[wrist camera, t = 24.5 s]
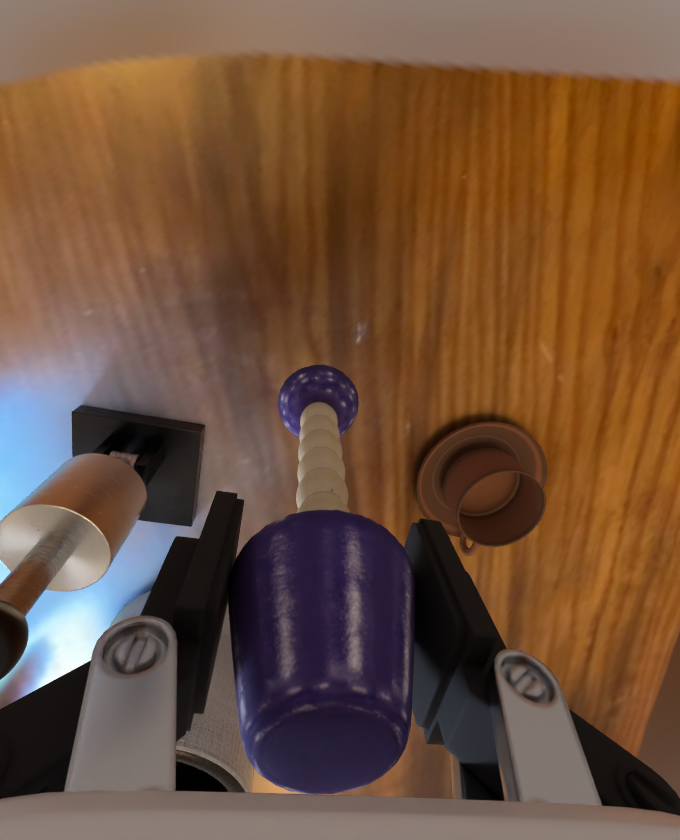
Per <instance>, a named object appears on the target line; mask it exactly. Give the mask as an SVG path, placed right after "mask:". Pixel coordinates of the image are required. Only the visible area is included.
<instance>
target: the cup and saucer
mask: <svg viewBox="0 0 680 840" xmlns="http://www.w3.org/2000/svg"><path fill="white" fill-rule="evenodd" d="M546 474H547V466H546V460H545V456H544V453H543V451H542V449H541V447H540V445H539V444H538V442H537V441H536V440H535V439H534V438H533V437H532V436H531V435H530V434H529V433H527V432H526V431H524V430H522V429H520V428H518V427H516V426H513V425H511V424H507V423H503V422H494V421H486V422H477V423H473V424H469V425H466V426H463V427H461V428H459V429H457V430H455V431H453V432H451V433H449V434H448V435H446V436H445V437H444V438H442V439H441V440H440V441H439V442H438V443H437V444H436V445H435V446H434V447H433V448H432V449H431V450H430V452H429V453H428V454H427V456H426V457H425V459H424V461H423V463H422V465H421V467H420V470H419V473H418V477H417V484H416V492H417V500H418V503H419V507H420V509H421V511H422V513H423V515H424V516H425V517H426V519H429V520H436V521H440V522H441V523H442V525H443V527H444V529H445V531H446V533H447V534H449V535H453V536H457V537H460V546H461V550H462V552H463V553H464V554H465V555H467V556H471V555H473V554H474V553H475V552H476V551H477V549H478V547H479V545H482V546H488V547H499V546H505V545H509V544H512V543H514V542H516V541H518V540H520V539H522V538H524V537H525V536H526V535H528V534H529V533H530V532H531V531H532V530H533V529H534V528H535V527H536V526H537V525H538V523H539V522H540V520H541V518H542V516H543V514H544V511H545V506H546V497H545V492H544V490H543V488H544V485H545V481H546ZM466 538H468V539H469V540H471V541H472V542H473V544H472V546H471V547H470V548H468V547H467V545H466Z"/></svg>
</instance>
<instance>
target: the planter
mask: <svg viewBox="0 0 680 840" xmlns="http://www.w3.org/2000/svg"><path fill="white" fill-rule="evenodd" d="M150 592H151V590H150V591H148V592H146V593H143V594H141V595H139V596H138V597H136V598H134V599H133V600H131V601H130V602H129V603H128V604H126V605H125V606H124V607H123V608H122V609H121V611H120V612H119V613H118V614H117V616H116V617H115V619H114V620H113V622H112V623H111V625H110V627H112V626H113V625H114V624H116V623H118V622H120V621H123V620H125V619H127V618H131V617H136V616H140V614H141V612H142V610H143V608H144V605H145V603H146V601H147V599H148V596H149V594H150ZM110 627H109V628H110ZM253 777H254V767H253V766H252V765H251V763H250V762H249V760H248V758H247V756H246V753H245V750H244V746H243V743H242V739H241V734H240V727H239V718H238V709H237V700H236V690H235V680H234V669H233V659H232V647H231V635H230V622H229V611H228V604H227V609H226V613H225V618H224V623H223V627H222V632H221V637H220V641H219V646H218V650H217V655H216V660H215V664H214V669H213V673H212V678H211V683H210V687H209V692H208V697H207V701H206V706H205V710H204V714H194V716H193V720H192V724H191V729H190V731H187V732H186V735H184V736H183V737H182V738H181V739H179V740H178V741H177V742H176V791H201V792H238V793H252V787H253Z"/></svg>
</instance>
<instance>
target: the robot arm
mask: <svg viewBox="0 0 680 840" xmlns="http://www.w3.org/2000/svg"><path fill="white" fill-rule="evenodd" d="M243 506H244V500H241V499H237V493H230V492H222V491H217V492H216V494H215V497H214V500H213V502H212V505H211V508H210V511H209V513H208V516H207V519H206V522H205V525H204V527H203V530H202V533H201V536H200V538H199V539H196V538H188V537H179V536H177V537H175V539H174V541H173V543H172V545H171V547H170V550H169V552H168V554H167V556H166V559H165V561H164V563H163V565H162V567H161V570H160V572H159V574H158V576H157V579H156V581H155V583H154V585H153V588H152V590H151V592H150V594H149V596H148V599H147V601H146V603H145V605H144V608H143V610H142V612H141V614H140V616H136V617H131V618H127V619H125V620H123V621H120V622H118V623H116V624H114V625H113V626H112V627H110V628H109V629H108V630H106V631H105V632H104V633H103V635H102V636H101V637H100V638H99V639H98V641H97V643H96V645H95V648H94V650H93V654H92V659H91V661H89V662H87V663H85V664H84V665H82V666H80V667H78V668H76V669H74V670H72V671H71V672H69V673H67V674H65V675H63V676H61V677H59V678H58V679H56V680H54V681H52V682H50V683H48V684H46V685H45V686H43V687H41V688H39V689H37V690H35V691H33V692H32V693H30V694H28V695H26V696H24V697H22V698H20V699H19V700H17V701H15V702H13V703H11V704H9V705H7V706H6V707H4V708H2V709H0V840H680V798H679V797H678V795H677V794H676V792H675V791H674V790H673V789H672V788H671V787H670V786H669V784H668V783H667V782H666V781H665V780H664V779H663V778H662V777H660V776H659V775H658V774H657V773H656V772H654V771H653V770H652V769H651V768H650V767H648V766H647V765H645V764H644V763H642V762H641V761H640V760H639V759H637V758H636V757H634V756H633V755H632V754H630V753H629V752H628V751H626V750H625V749H623V748H622V747H621V746H619V745H618V744H617V743H615V742H614V741H612V740H611V739H610V738H608V737H607V736H606V735H604V734H603V733H601V732H600V731H599V730H597V729H596V728H595V727H593V726H592V725H590V724H589V723H588V722H586V721H585V720H584V719H582V718H581V717H579V716H578V715H577V714H575V713H574V712H573V711H571V710H570V709H569V708H568V706H567V703H566V700H565V697H564V694H563V691H562V688H561V686H560V684H559V682H558V680H557V678H556V677H555V676H554V674H553V673H552V672H551V670H550V669H549V668H548V667H547V666H546V665H544V664H543V663H542V662H541V661H540V660H538V659H537V658H535V657H534V656H532V655H531V654H528V653H526V652H524V651H521V650H517V649H506V647H505V645H504V643H503V641H502V639H501V637H500V635H499V633H498V631H497V629H496V627H495V625H494V623H493V621H492V619H491V617H490V615H489V613H488V611H487V609H486V607H485V605H484V603H483V601H482V599H481V597H480V595H479V593H478V591H477V589H476V587H475V585H474V583H473V581H472V579H471V577H470V575H469V574H468V572H466V571H465V569H464V567H463V565H462V563H461V561H460V559H459V557H458V555H457V553H456V551H455V549H454V547H453V545H452V543H451V541H450V539H449V537H448V535H447V533H446V531H445V529H444V527H443V525H442V523H441V522H440V521H436V520H429V519H420V520H419V521H418V523H413V524H412V525H411V528H410V531H409V534H408V537H407V540H406V544H405V547H404V549H405V551H406V553H407V555H408V557H409V559H410V562H411V565H412V568H413V573H414V578H415V640H414V669H413V693H412V709H413V713H414V717H415V721H416V724H417V726H419V727H423V730H424V734H425V738H426V742H427V744H441V745H445V748H446V749H447V750H448V751H450V752H451V773H452V788H453V799H436V798H406V797H376V796H345V795H313V794H276V793H238V792H201V791H176V742H177V741H178V740H179V739H181V738H182V737H183V736H184V735H186V732H187V731H190V729H191V724H192V720H193V716H194V714H204V710H205V706H206V701H207V697H208V692H209V687H210V683H211V678H212V673H213V669H214V664H215V660H216V655H217V650H218V646H219V641H220V637H221V632H222V627H223V623H224V618H225V613H226V609H227V604H228V586H229V580H230V575H231V571H232V567H233V564H234V562H235V560H236V553H237V546H238V540H239V533H240V526H241V519H242V513H243Z"/></svg>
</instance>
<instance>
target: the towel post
mask: <svg viewBox="0 0 680 840" xmlns="http://www.w3.org/2000/svg"><path fill="white" fill-rule="evenodd" d="M141 457H142V456H141V454H135V453H129V452H122V451H115V450H113V451H112V452H111V453H110V454H109V455H105V454H98V453H88V454H82V455H78V456H75V457H73V458H71V459H69V460H67V461H66V462H65V463H64V464H62V465H61V466H60V467H59V468H58V469H57V470H56V471H55V472H54V473H53V474H52V475H50V476H49V477H48V478H47V479H46V480H45V481H44V482H43V483H42V484H41V485H39V486H38V487H37V488H36V489H35V490H34V491H33V492H32V493H31V494H30V495H28V496H27V497H26V498H25V499H24V500H23V501H22V502H21V503H20V504H19V505H17V506H16V507H15V508H14V509H13V510H12V511H11V512H10V513H9V514H8V515H7V516H5V517H4V519H3V520H2V521H1V522H0V559H1V561H2V562H3V564H4V565H5V566H6V567H7V569H8V570H9V571H10V572H11V573H10V574H9V575H8V576H7V577H6V579H5V580H4V581H3V582H2V583H1V584H0V680H1V679H2V678H3V677H4V676H6V675H7V674H8V673H9V672H10V671H11V670H12V669H13V668H14V666H15V665H16V664H17V663H18V661H19V660H20V658H21V656H22V655H23V653H24V650H25V648H26V645H27V641H28V624H27V621H26V619H25V616H26V615H27V613H28V612H29V611H30V609H31V608H32V607H33V605H34V604H35V603H36V601H37V600H38V599H39V597H40V596H41V595H42V593H43V592H44V591H45V589H46V590H52V591H74V590H79V589H83V588H86V587H88V586H90V585H92V584H94V583H95V582H97V581H98V580H100V579H101V578H102V577H103V576H104V574H105V573H106V572H107V570H108V568H109V567H110V565H111V563H112V562H113V560H114V558H115V557H116V555H117V553H118V552H119V550H120V548H121V547H122V545H123V544H124V542H125V540H126V539H127V537H128V535H129V534H130V532H131V530H132V529H133V527H134V525H135V524H136V522H137V520H138V519H139V517H140V515H141V514H142V512H143V510H144V508H145V505H146V501H147V492H146V488H145V485H144V483H143V481H142V479H141V477H140V476H139V474H138V473H137V472H136V464H137V462H138V461H139V460H140V459H141Z"/></svg>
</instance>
